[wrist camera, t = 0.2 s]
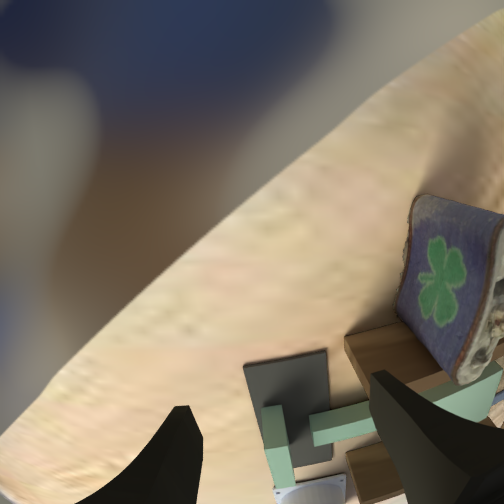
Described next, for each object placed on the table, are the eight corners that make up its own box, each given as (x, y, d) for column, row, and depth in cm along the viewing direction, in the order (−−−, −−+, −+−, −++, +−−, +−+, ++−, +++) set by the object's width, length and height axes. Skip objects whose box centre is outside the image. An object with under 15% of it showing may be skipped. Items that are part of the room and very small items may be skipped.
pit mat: (331, 457, 26) (331, 460, 25) (271, 469, 26) (271, 471, 25) (324, 350, 22) (325, 352, 21) (242, 365, 22) (243, 368, 22)
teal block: (464, 391, 24) (487, 418, 19) (271, 448, 24) (276, 489, 20) (476, 343, 22) (504, 370, 18) (260, 405, 23) (264, 449, 18)
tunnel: (474, 409, 25) (505, 449, 18) (345, 458, 26) (362, 513, 19) (503, 286, 21) (556, 320, 14) (343, 336, 21) (379, 402, 14)
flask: (409, 191, 19) (529, 224, 8) (442, 196, 19) (559, 230, 9) (387, 318, 21) (464, 413, 11) (419, 317, 21) (500, 401, 11)
